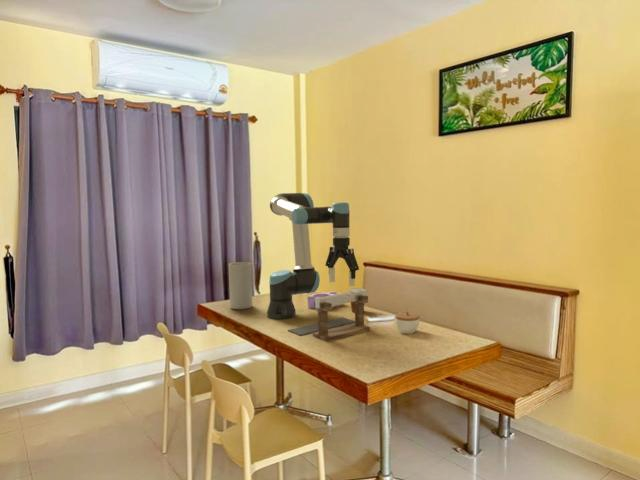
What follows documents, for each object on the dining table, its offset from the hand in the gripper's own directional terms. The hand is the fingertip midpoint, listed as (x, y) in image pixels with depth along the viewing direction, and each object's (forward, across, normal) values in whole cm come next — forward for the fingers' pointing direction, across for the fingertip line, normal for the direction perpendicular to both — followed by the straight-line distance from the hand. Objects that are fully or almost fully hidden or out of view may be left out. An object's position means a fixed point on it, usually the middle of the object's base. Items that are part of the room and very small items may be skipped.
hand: (341, 283), depth 206 cm
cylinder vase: (+22, -76, -11) cm, 79 cm away
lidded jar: (+23, +18, +24) cm, 38 cm away
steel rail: (+9, 0, 0) cm, 9 cm away
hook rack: (+23, 0, 0) cm, 23 cm away
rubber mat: (+23, -14, 0) cm, 27 cm away
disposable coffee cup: (+23, -24, +32) cm, 46 cm away
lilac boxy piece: (+23, -45, +26) cm, 57 cm away
